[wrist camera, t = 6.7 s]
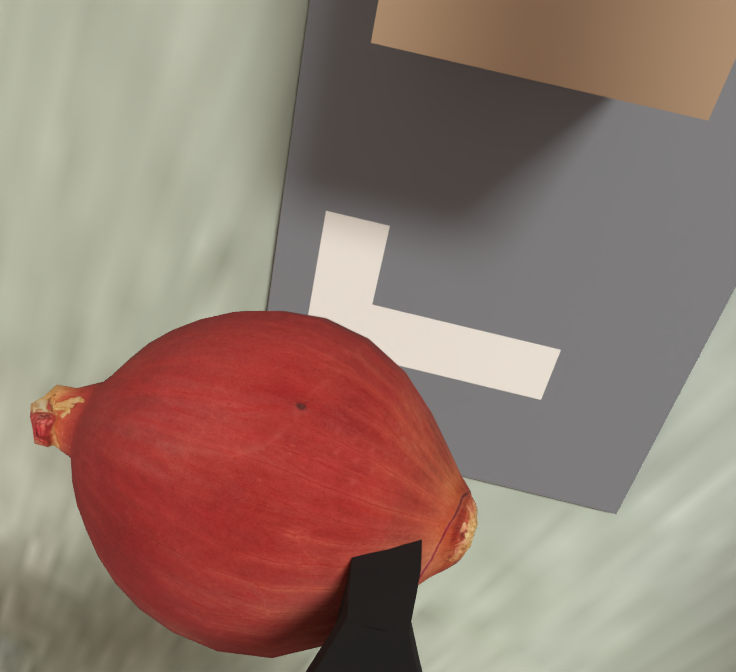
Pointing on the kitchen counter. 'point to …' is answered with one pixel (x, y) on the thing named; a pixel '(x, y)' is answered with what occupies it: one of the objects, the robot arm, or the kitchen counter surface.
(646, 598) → the kitchen counter surface
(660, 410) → the letter mat
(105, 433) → the onion
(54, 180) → the kitchen counter surface
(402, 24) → the walnut block
